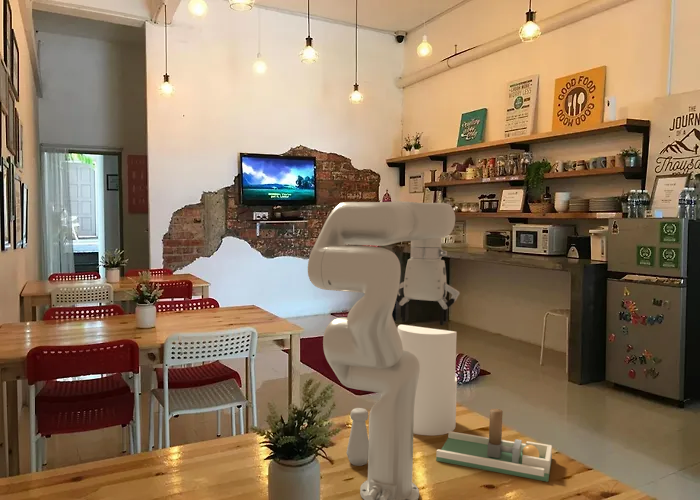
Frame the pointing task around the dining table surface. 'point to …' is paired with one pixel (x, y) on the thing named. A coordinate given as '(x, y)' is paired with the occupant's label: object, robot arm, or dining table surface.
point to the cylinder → (433, 378)
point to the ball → (530, 451)
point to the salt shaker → (358, 438)
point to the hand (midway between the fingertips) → (423, 322)
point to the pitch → (474, 455)
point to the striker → (500, 438)
